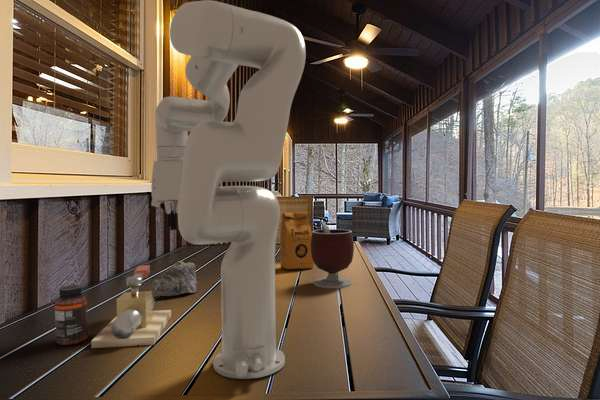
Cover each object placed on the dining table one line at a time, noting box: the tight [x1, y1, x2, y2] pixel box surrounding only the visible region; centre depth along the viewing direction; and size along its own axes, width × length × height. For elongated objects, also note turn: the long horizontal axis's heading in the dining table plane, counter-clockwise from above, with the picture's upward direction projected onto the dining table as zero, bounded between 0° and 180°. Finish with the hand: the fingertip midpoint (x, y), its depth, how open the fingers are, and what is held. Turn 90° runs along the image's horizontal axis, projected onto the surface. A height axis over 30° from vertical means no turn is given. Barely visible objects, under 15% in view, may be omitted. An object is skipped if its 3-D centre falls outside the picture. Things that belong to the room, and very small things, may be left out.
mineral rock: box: [150, 260, 199, 297], centre depth 124 cm, size 13×11×10 cm
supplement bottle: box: [54, 284, 89, 346], centre depth 87 cm, size 6×6×11 cm
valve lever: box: [126, 264, 151, 288], centre depth 99 cm, size 16×3×2 cm, turn 12°
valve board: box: [90, 309, 172, 349], centre depth 93 cm, size 19×12×2 cm, turn 7°
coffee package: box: [279, 211, 315, 271], centre depth 161 cm, size 10×12×22 cm
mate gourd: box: [311, 220, 355, 289], centre depth 136 cm, size 16×14×20 cm
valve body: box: [111, 286, 156, 339], centre depth 93 cm, size 19×6×8 cm, turn 7°
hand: (174, 229), depth 103 cm, fingers closed
